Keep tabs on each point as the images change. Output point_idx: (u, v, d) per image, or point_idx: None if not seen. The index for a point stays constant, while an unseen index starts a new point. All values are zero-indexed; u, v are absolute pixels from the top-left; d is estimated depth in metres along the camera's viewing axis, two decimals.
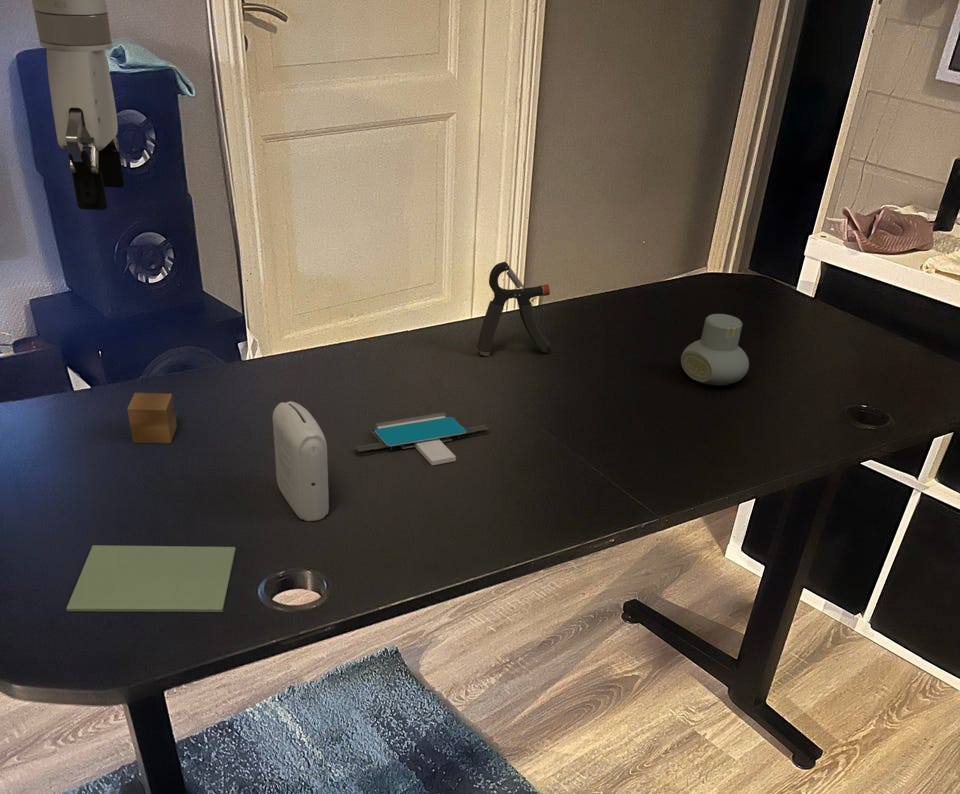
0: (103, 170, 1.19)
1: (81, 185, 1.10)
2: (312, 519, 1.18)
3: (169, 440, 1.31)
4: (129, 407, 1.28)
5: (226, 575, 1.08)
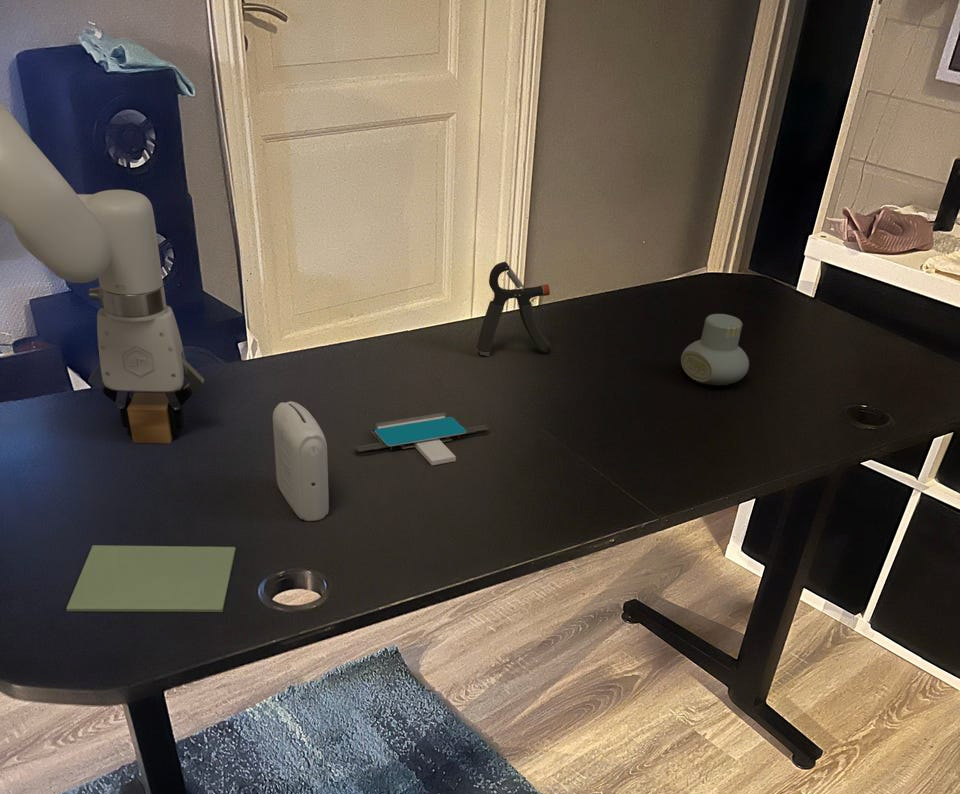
0: None
1: (180, 416, 1.31)
2: (312, 519, 1.18)
3: (169, 440, 1.31)
4: (129, 407, 1.28)
5: (226, 575, 1.08)
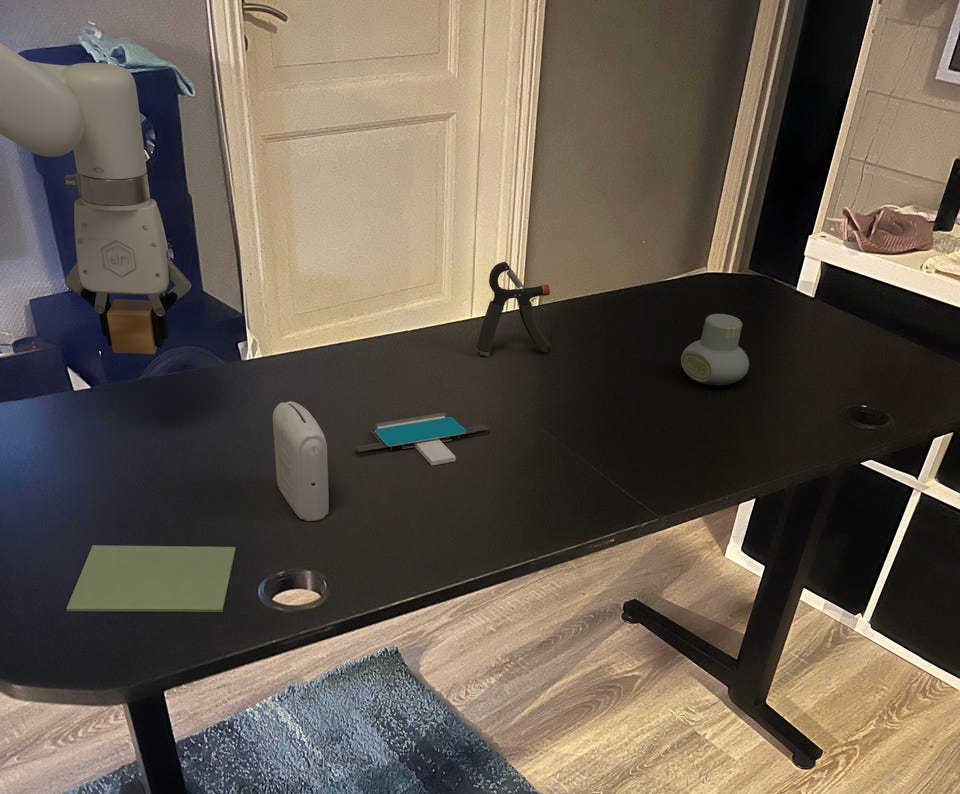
0: None
1: (165, 324, 1.21)
2: (312, 519, 1.18)
3: (152, 350, 1.21)
4: (109, 312, 1.18)
5: (226, 575, 1.08)
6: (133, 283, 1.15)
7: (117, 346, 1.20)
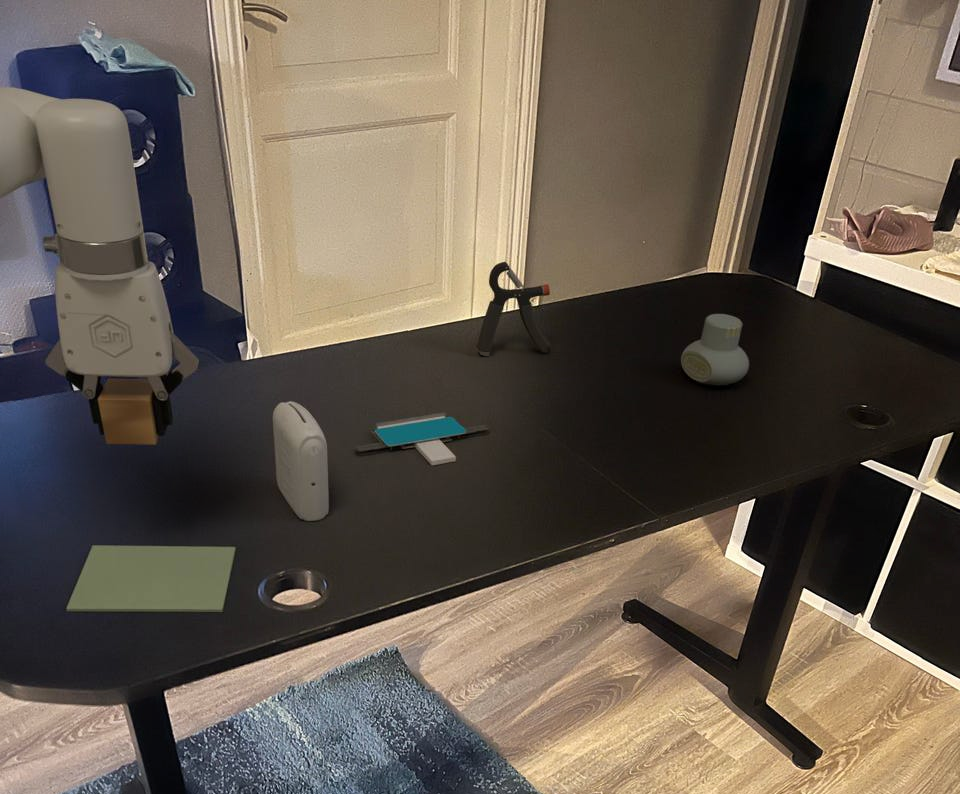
0: None
1: (168, 408, 1.00)
2: (312, 519, 1.18)
3: (154, 440, 1.00)
4: (100, 397, 0.97)
5: (226, 575, 1.08)
6: (129, 364, 0.94)
7: (111, 436, 0.99)
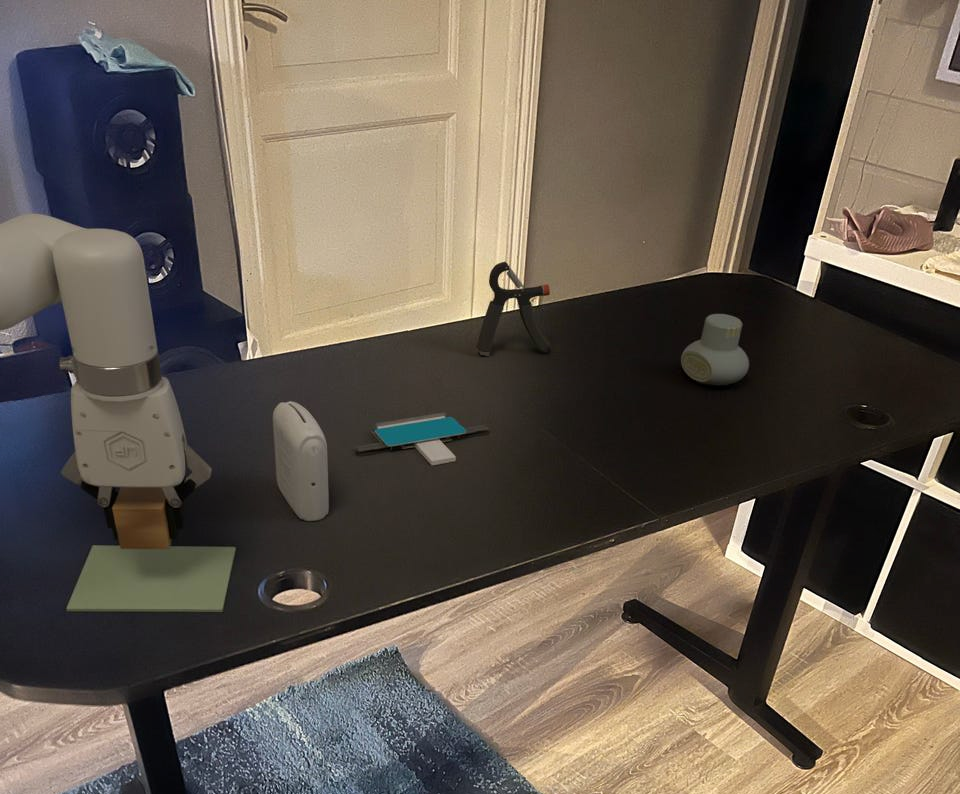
0: None
1: (181, 514, 1.01)
2: (312, 519, 1.18)
3: (167, 545, 1.02)
4: (115, 506, 0.99)
5: (226, 575, 1.08)
6: (143, 476, 0.96)
7: (125, 542, 1.01)
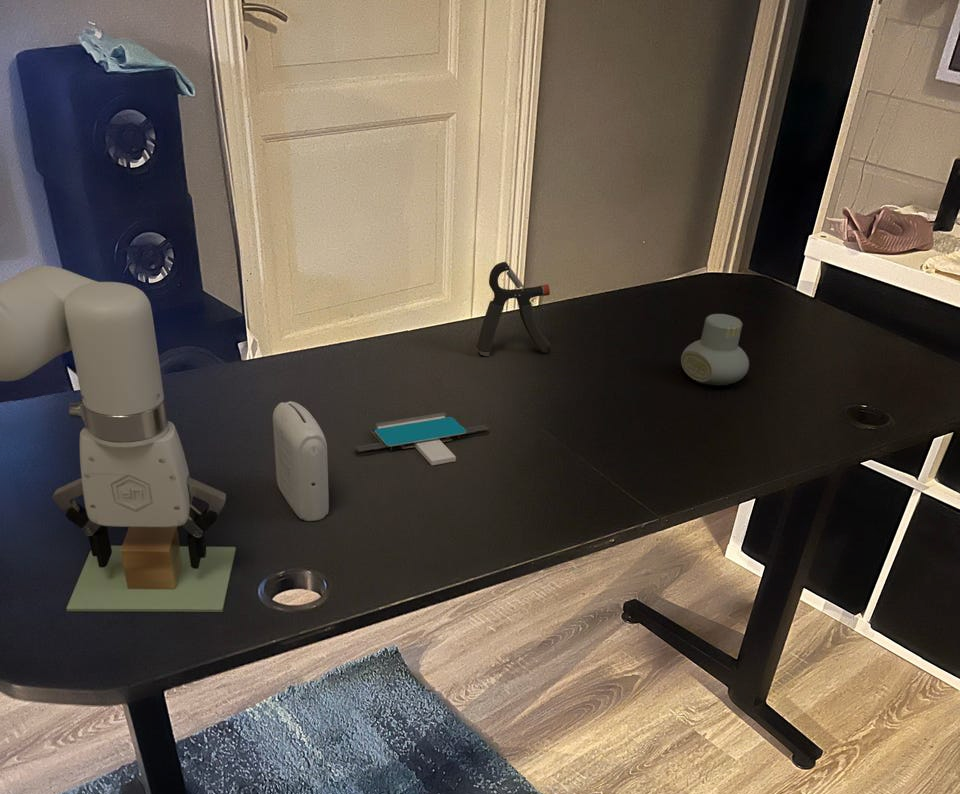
0: (105, 548, 1.04)
1: (202, 543, 1.04)
2: (312, 519, 1.18)
3: (173, 585, 1.05)
4: (123, 548, 1.02)
5: (226, 575, 1.08)
6: (148, 517, 0.99)
7: (132, 582, 1.04)
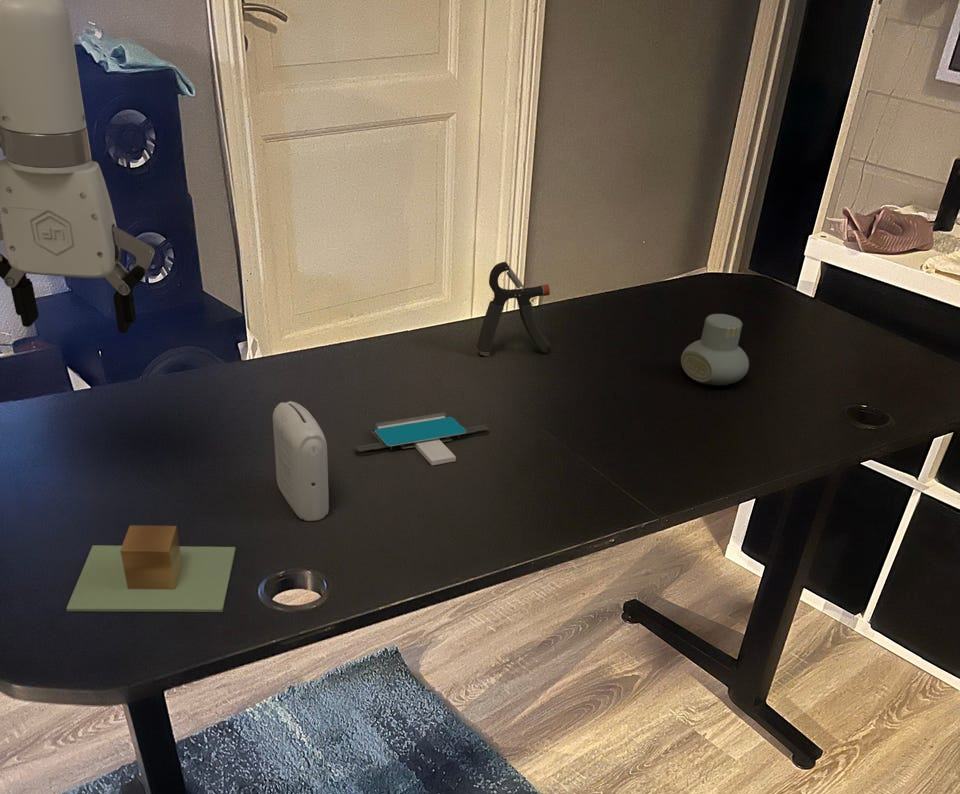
0: (29, 306, 1.00)
1: (130, 304, 1.00)
2: (312, 519, 1.18)
3: (173, 585, 1.05)
4: (123, 548, 1.02)
5: (226, 575, 1.08)
6: (71, 263, 0.95)
7: (132, 582, 1.04)
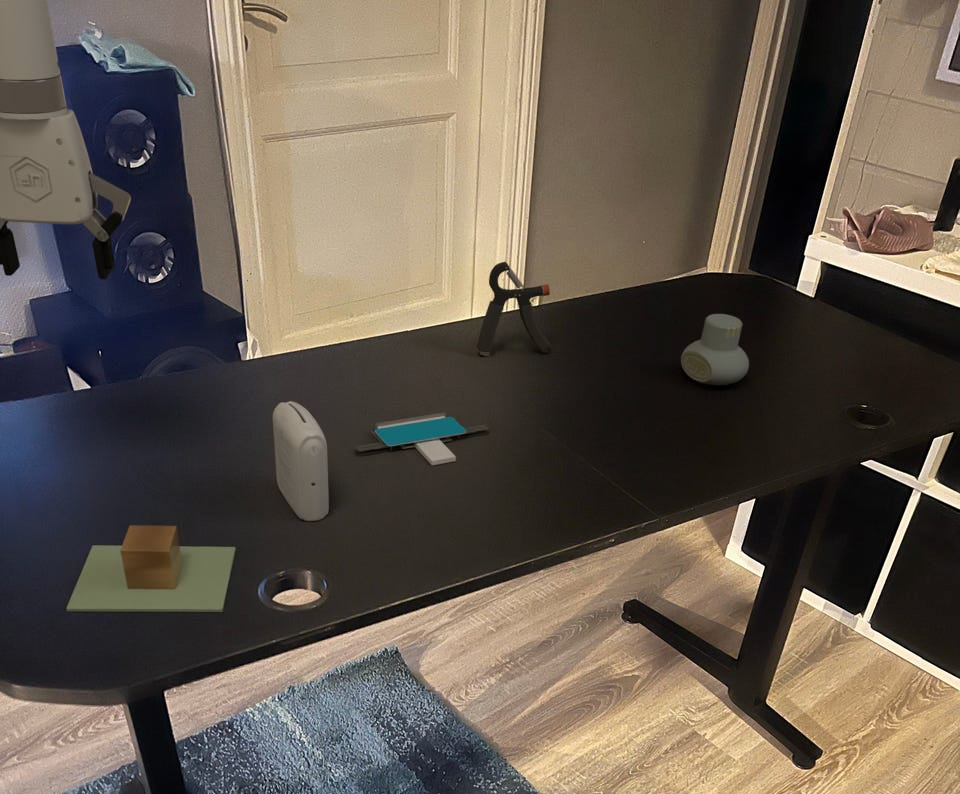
0: (10, 255, 1.03)
1: (109, 251, 1.04)
2: (312, 519, 1.18)
3: (173, 585, 1.05)
4: (123, 548, 1.02)
5: (226, 575, 1.08)
6: (50, 210, 0.98)
7: (132, 582, 1.04)
